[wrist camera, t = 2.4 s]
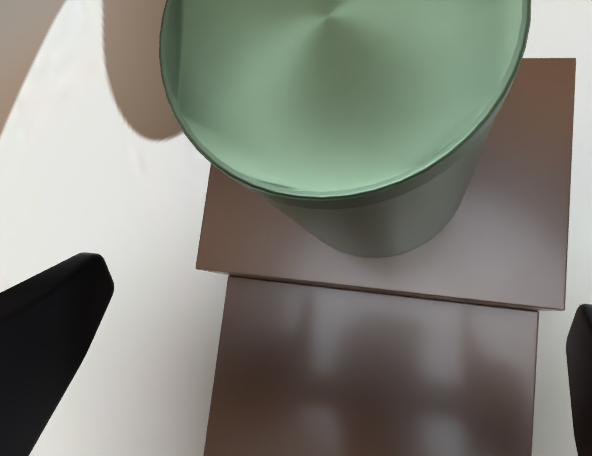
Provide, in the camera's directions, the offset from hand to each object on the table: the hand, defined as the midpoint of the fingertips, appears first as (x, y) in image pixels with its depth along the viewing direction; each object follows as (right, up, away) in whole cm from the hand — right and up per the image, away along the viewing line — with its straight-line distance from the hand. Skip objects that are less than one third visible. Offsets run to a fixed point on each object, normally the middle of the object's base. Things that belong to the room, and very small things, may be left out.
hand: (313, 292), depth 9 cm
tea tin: (+2, +3, +7) cm, 8 cm away
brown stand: (+3, -2, +12) cm, 12 cm away
